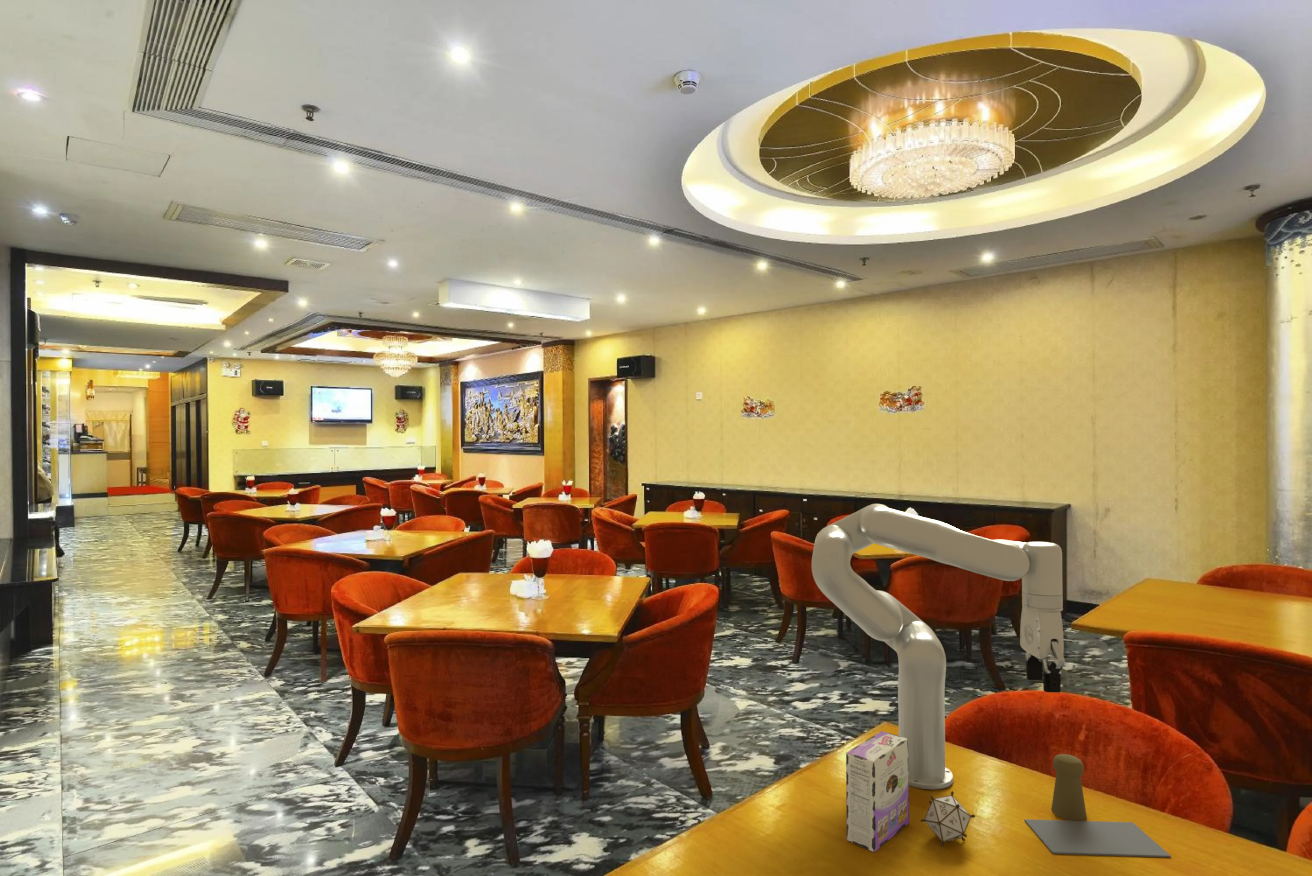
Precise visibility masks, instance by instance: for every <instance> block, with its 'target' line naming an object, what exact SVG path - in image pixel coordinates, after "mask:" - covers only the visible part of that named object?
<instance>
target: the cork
mask: <svg viewBox="0 0 1312 876" xmlns="http://www.w3.org/2000/svg"><path fill="white" fill-rule="evenodd" d="M1052 765H1053V769H1054V770H1055V772H1056V774H1055V780H1054V787H1053V788H1054V789H1053V793H1052V794H1053V795H1052V802H1051V810H1050V811H1051V812H1052V813H1053V814H1054V815H1056V817H1059V818H1062V819H1064V820H1067V821H1086V820H1087V816H1088V815H1087V810H1086V803H1085V797H1084V792H1083V784H1082V776H1083V774H1084V769H1085V768H1084V763H1083V762H1082V760H1081V759H1080V758H1078V757H1077V756H1074V755H1071V754H1068V753H1067V754H1066V753H1059V754H1056V755H1055V756H1054V757H1053V761H1052Z"/></svg>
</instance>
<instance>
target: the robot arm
mask: <svg viewBox="0 0 1312 876" xmlns="http://www.w3.org/2000/svg"><path fill="white" fill-rule="evenodd" d="M874 544H876V545H879V546H882V547H885V548H889V549H894V550H896V551H901V552H905V553H908V554H912V555H915V556H918V557H922V558H926V559H929V560H932V561H935V562H938V563H941V564H944V565H949V566H953V567H957V568H958V569H962V570H965V571H970V572H971V573H972V572H973V573H975V574H979V575H983V576H985V577H990V578H994V579H997V580H1001V581H1004V582H1005V581H1007V582H1010V581H1011V582H1015V581H1019V580H1020V579H1021V587H1022V588H1021V597H1022V598H1021V602H1022V603H1021V604H1022V606H1021V607H1022V608H1021V616H1020V629H1019V632H1020V633H1019V634H1020V635H1019V645H1020V648H1022V650H1024V651H1025V654H1024V655H1025V660H1026V661H1025V664H1026V666H1025V667H1026V670H1025V671H1026V674H1025V675H1026V679H1027V680H1028V681H1042V682H1043V683H1042V685H1043V689H1042V690H1043V691H1044V692H1045V693H1060V692H1061V691H1062V690H1061V688H1062V687H1061V679H1062V678H1061V674H1062V669H1063V667H1064V664H1065V663H1066V660H1065V657H1064V650H1065V649H1064V646H1065V644H1064V629H1063V628H1064V627H1063V618H1062V613H1061V612H1062V611H1063V610H1064V608H1063V605H1064V604H1063V603H1064V602H1063V601H1064V600H1063V599H1064V598H1063V596H1064V595H1063V594H1064V593H1063V552H1062V551H1063V549H1062V548H1061V546H1060V545H1059V544H1057V543H1054V542H1049V541H1029V542H1025V541H1024V542H1022V541H1016V540H1015V541H1014V540H1009V539H1000V538H998V539H997V538H995V539H989V538H986V537H983V536H978V535H975V534H973V533H969V532H967V531H963V530H962V529H961V530H960V529H959V528H956V527H955V526H952V525H950V524H948V523H945V522H943V521H940V520H936V519H932V518H929V517H923V516H920V515H916V514H912V513H908V512H905V511H901V510H897V509H894V508H890V507H888V506H887V505H885V504H881V503H872V504H869V505H867V506H865V507H863V508H861V509H859V510H857V511H855V512H853V513H851V514H849V515H847V516H845V517H843V518H841V519H839V520H837V521H834V522H832V523H830V524H829V525H826V526H825V527H823V528H822V529H821V530H820V531H819V532H818V533H817V535H816V536H815V540H814V544H813V550H812V556H811V574H812V576H813V577H812V578H813V580H814V582H815V585H816V586H817V588H818V589H819V590H820V592H822V594H823V595H824V596H825V597H826V598H827V599H828V600H829V601H831V602H832V603H833V604H834V605H835V606H836V607H837V608H838V609H839V610H840V611H842V613H844V614H845V616H847V617H848V618H849V619H850V620H851V621H853V623H855V624H856V625H857V626H858V627H860V629H862V631H864V632H865V633H866V635H868V636H869V637H871V638H872V639H874V640H877V641H880V642H884V643H885V644H886V645H888V646H889V647H890V648H891V649H893V651H895V652H896V653H897V658H898V659H897V660H898V680H897V684H898V685H897V700H898V701H897V703H898V705H897V706H898V708H897V709H898V736H900V737H904V738H907V739H908V780H909V787H913V788H918V789H921V790H942V789H946V788H948V787H950V786H951V785H952V784H953V783H954V775H953V772H952V771H951V769H949V768H948V767H946V723H945V722H946V719H945V716H946V715H945V713H946V711H945V710H946V708H945V705H946V704H945V689H946V688H945V686H946V685H945V684H946V675H947V674H946V672H947V657H946V653H945V650H944V647H943V645H942V643H941V641H940V640H939V638H938V637H937V635H936V633H935V631H933V629H932V628H931V627H930V626H929V625H928V624H927V623H925V622H924V621H923V620H922V619H920V617H918V616H917V615H916V614H915V613H913V612H912V610H910V609H909V608H908V607H906V606H905V605H904V604H902V602H901V601H899V600H898V599H897V598H895V597H894V596H893V595H891V594H890V593H888V592H887V591H884V590H876V589H875V588H874V587H873V586H871V585H870V584H869V583H868V582H867V581H866V580H865V579H864V578H862V577H861V576H860V575H859V574H858V573H856V572H855V571H854V569H853V568H852V566H851V559H852V557H853V555H854V554H855V553H857V552H860V551H861V550H863V549H866V548H868V547H870V546H871V545H874ZM1049 662H1051V663H1049ZM1043 666H1044V667H1043ZM1043 668H1044V669H1043ZM1043 670H1044V671H1043Z"/></svg>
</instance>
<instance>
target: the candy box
mask: <svg viewBox="0 0 1312 876" xmlns="http://www.w3.org/2000/svg"><path fill="white" fill-rule="evenodd" d="M845 757H846V758H845V764H846V765H845V766H846V767H845V768H846V769H845V771H846V773H845V774H846V775H845V776H846V777H845V780H846V781H845V782H846V784H845V785H846V787H845V788H846V789H845V790H846V796H845V797H846V798H845V801H846V802H845V803H846V841H848V842H850V841H851V842H850V843H852V842H853V843H852V844H854V843H855V844H854V845H857V846H858V845H859V847H860V846H862V847H861V848H863V849H865V848H866V849H865V850H867V849H868V851H869V850H870V851H869V852H871V851H872V852H871V853H876V851H878V850H879V849H880V848H881V847H882V846H883V845H885V844H886V843H887V842H888V841H889V840H891V839H892V838H893V837H894V836H895V835H896V834H898V833H899V832H900V831H901V830H902V829H903V828H905V827H906V826H907V825H909V824H910V797H909V796H910V795H909V788H910V786H909V780H908V739H907V738H904V737H900V736H899V735H896V734H892V733H889V732H886V731H882V730H881V731H879V732H877V733H876V734H874V735H873V736H871V737H870V738H867V740H865V741H863V742H862V743H860V744H858V745H856V746H854V747H853V748H851V749H850V750H848V751H846V752H845Z"/></svg>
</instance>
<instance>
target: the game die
mask: <svg viewBox="0 0 1312 876" xmlns="http://www.w3.org/2000/svg"><path fill="white" fill-rule="evenodd" d="M954 794H955V792H954V790H952V791H951V792H950V795H946V796H941V797H936V798H934V796H933V795H931V794H929V799H930V800H928V803H929V807H928V808H927V809H928V810H927V812H926V814H925V817H924V818H921V819H919V822H921V823H923V822H925V824H926V825H927V826H928V827H929V828H930V829H931V830H932V832H933V833H934V834H935V835H936V836H937V838H938V839H939V840H940V841H941V843H940V846H941V848H943V847H944V845H945V843H946V842H947V843H948V842H951V841H956V840H962V842H964V843H966V838H967V837H968V835H967V834H966V830H967V828H968V826H969V823H970V821H971V819H973V818H974V819H975V817H976V815H975V814H970V813H969V812H968V811H967V809H965V807H964V806H963V805H962V804H961V803H960V802H959V801H958V799H956V798H955V797H954Z"/></svg>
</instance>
